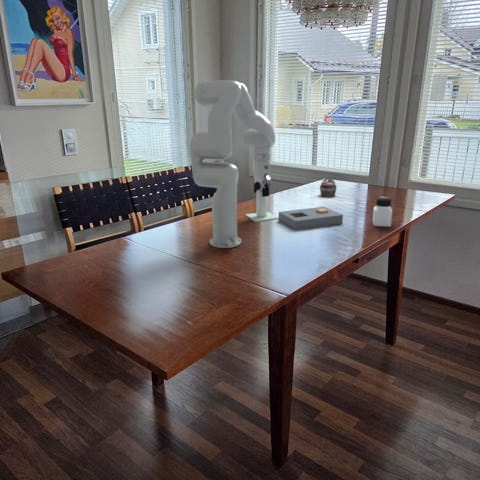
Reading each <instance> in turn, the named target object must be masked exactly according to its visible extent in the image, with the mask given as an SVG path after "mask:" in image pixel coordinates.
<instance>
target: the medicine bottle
mask: <svg viewBox="0 0 480 480" xmlns="http://www.w3.org/2000/svg"><path fill="white" fill-rule="evenodd" d="M375 202H376V204H375V206H373V213H372V224H373V226H374V227H390V228H391V227H392V222H393V221H392V220H393V213H394V212H393V210H392V199H391V198H390V197H386V196H380V197H377V198H376V201H375Z"/></svg>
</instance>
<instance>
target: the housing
mask: <svg viewBox="0 0 480 480" xmlns="http://www.w3.org/2000/svg"><path fill="white" fill-rule="evenodd" d="M322 208H323V209H326V210H328V213H322V214H320V213H317V212H316V209H322ZM278 218H279V219H278V221H279V222H281V223H282V224H284V225H286V226H287V227H289V228H291V229H293V230H294V231H298V230H304V229H312V228H319V227H326V226H333V225H340V224H343V219H344V214H342V213H339V212H337V211H335V210H332V209H331V208H328V207H326V206H317V207H308V208H302V209H293V210H292V209H291V210H284V211H278Z"/></svg>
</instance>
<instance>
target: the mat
mask: <svg viewBox="0 0 480 480" xmlns="http://www.w3.org/2000/svg"><path fill="white" fill-rule="evenodd" d="M245 216H246V217H247V218H249V219H250V220H252V221H253V222H254V223H257V222H259V223H260V222H265V221H266V222H267V221H271V220H272V221H273V220H279V216H276V215H274V214H273V213H271V212H270V211H267V217H263V218H261V217H257V216H256V212H255V213H253V212H252V213H245Z"/></svg>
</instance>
